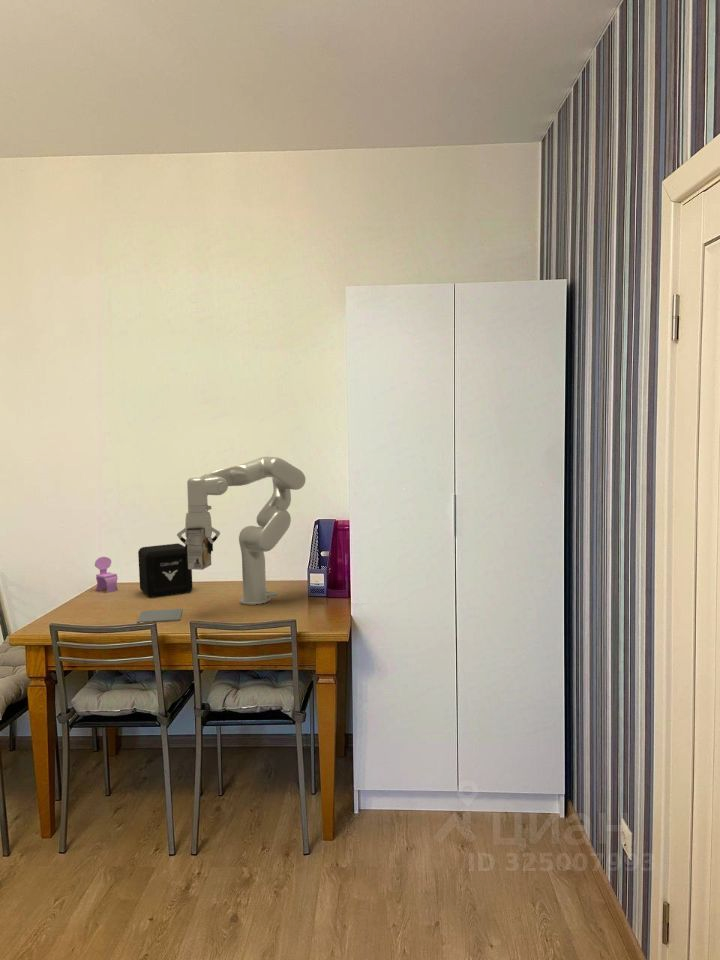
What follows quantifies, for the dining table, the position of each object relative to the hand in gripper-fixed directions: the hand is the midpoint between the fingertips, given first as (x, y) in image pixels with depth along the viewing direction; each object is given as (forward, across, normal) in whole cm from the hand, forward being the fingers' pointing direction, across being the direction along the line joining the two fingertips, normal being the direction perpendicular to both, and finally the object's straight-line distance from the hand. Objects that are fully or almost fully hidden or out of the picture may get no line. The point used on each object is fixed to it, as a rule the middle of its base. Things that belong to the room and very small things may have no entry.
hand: (199, 553), depth 311 cm
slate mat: (+24, +16, 0) cm, 29 cm away
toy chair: (+24, +43, -50) cm, 70 cm away
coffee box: (+6, 0, 0) cm, 6 cm away
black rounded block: (+24, +16, -40) cm, 49 cm away
